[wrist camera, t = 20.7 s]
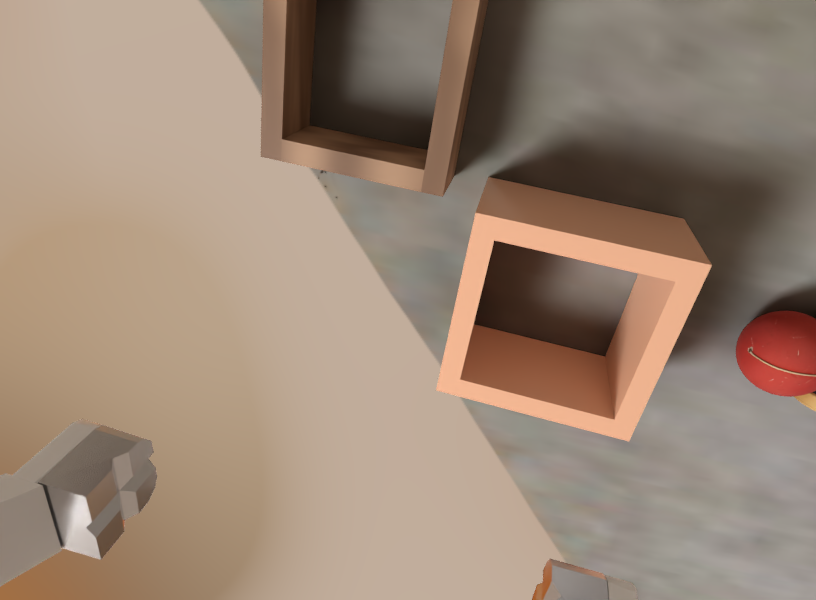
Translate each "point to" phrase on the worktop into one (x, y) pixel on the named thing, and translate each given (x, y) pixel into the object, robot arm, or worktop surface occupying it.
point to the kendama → (781, 355)
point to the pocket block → (347, 153)
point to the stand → (557, 365)
